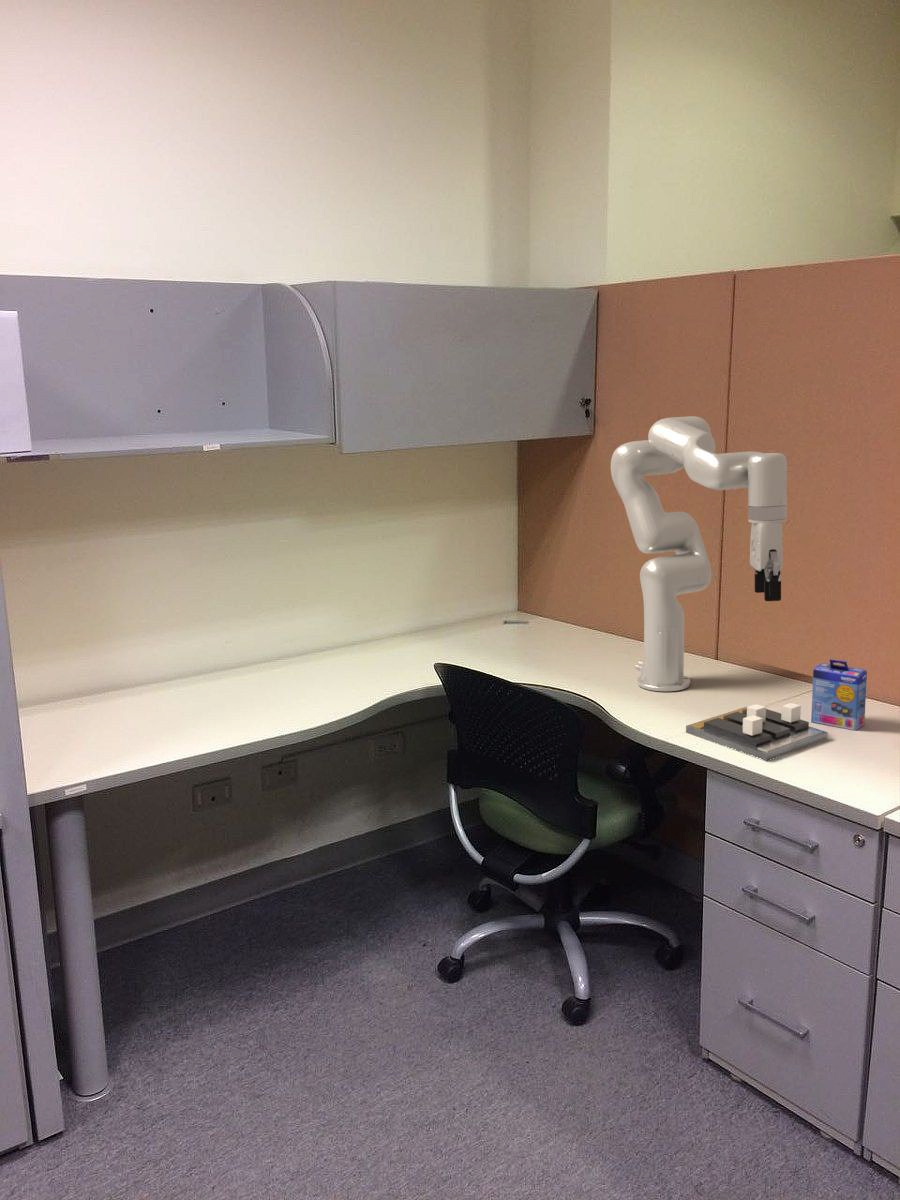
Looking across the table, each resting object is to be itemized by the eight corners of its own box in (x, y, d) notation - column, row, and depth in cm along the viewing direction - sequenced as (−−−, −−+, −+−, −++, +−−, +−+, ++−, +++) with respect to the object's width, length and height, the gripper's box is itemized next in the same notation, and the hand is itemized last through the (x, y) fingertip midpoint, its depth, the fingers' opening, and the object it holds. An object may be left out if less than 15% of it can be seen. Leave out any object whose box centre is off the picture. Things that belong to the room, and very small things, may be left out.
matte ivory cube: (746, 720, 210) (747, 707, 209) (756, 717, 212) (756, 704, 211) (755, 723, 208) (756, 710, 207) (765, 720, 210) (766, 706, 209)
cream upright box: (742, 732, 204) (742, 718, 203) (752, 729, 205) (752, 715, 204) (752, 735, 202) (752, 721, 201) (762, 732, 203) (762, 718, 203)
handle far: (781, 719, 210) (781, 705, 209) (790, 716, 212) (791, 702, 211) (790, 722, 208) (791, 708, 207) (800, 719, 210) (800, 705, 209)
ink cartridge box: (809, 722, 217) (812, 658, 214) (818, 715, 221) (821, 651, 218) (856, 731, 211) (860, 665, 208) (865, 724, 215) (868, 658, 212)
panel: (686, 732, 214) (686, 719, 213) (745, 713, 224) (746, 700, 224) (766, 761, 197) (767, 746, 196) (827, 739, 207) (828, 725, 206)
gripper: (740, 511, 215) (741, 590, 218) (757, 519, 198) (757, 605, 201) (776, 509, 214) (776, 588, 217) (796, 517, 197) (796, 603, 200)
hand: (767, 596), depth 209 cm, fingers open, 9 cm apart
